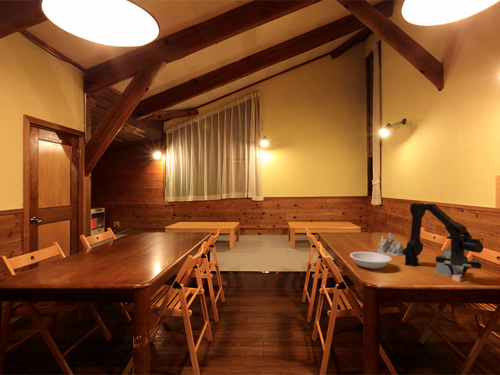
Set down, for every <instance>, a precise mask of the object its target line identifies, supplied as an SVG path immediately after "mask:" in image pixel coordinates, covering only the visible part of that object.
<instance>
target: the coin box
mask: <svg viewBox="0 0 500 375" xmlns="http://www.w3.org/2000/svg"><path fill="white" fill-rule="evenodd" d="M435 266H436V268H435V269H436V273H437V274H439V275H440V274H441V275H447V276H452V274H451V271H450V269H449V267H448V266H447V265H445V262H443V263H440V262H436V265H435ZM463 268H464V264H463V266H459V265H453V271H454V274H456V273H457V274H461V275H462V274H463Z"/></svg>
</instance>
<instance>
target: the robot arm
mask: <svg viewBox="0 0 500 375" xmlns="http://www.w3.org/2000/svg"><path fill="white" fill-rule="evenodd" d="M426 211H428V212H430V213H431V214H432V215H433V216H434V217H435V218H436V219H437V220H438V221H439V222H440V223H441V224H443V225H444V228H445V230H446V231H447V233H449V235H448V236H446V239H448V240H450V249H451V255H450V258H446V256H443V255H439V254H438V255H436V257H435V262H436V263H437V262H440V263H443V262H444V261H445V265H447V266H448V267H449V269H450V271H451V274H452V275H451V276H452V277H453V275H454V271H453V265H459V266H463V265H464V268H463V274H462V279H463V280H464V277H465V275H466V273H467V271H468V269H470V270H471V269H472V268H473V269H479V270H482V261H481V260H475V259H471V260H470V261H469V260H468V258H469V257H468V256H466V255H465V254H466V252H465V251H468V252H473V253H477V254H480V253H483V250H484V245H483V243H482V241H481V239H480V238H473V237H472V235H471V234H470V232H469V231H468V230H467V229H468V228H467V227H466V226H465V225H464V224H462V223H461V222H458V221H456V220H454V219H452V218H451V217H450V216H449V215H448V214H447V213H445V212H444V211H443V210H442V209H441V208H440V207H439V206H437V204H436V203H423V202H414V203H412V204H410V205H409V212H410V214H411V218H412V219H411V229H410V238H409V239H408V241H407V243H406V246H405V247H404V250H403V251H402V252H403V254H404V258H405V262H404V265H406V266H407V265H408V266H413V267H417V266H419V263H420V262H419V260H420V259H419V257H418V256H420V255H421V253H422V252H423V250H424V243H423V242H421V232H422V231H421V230H422V222H423V221H422V220H423V217H424V215H425V214H426Z"/></svg>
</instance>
